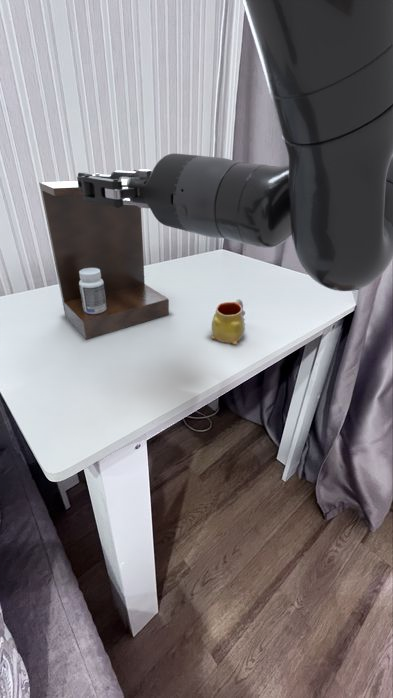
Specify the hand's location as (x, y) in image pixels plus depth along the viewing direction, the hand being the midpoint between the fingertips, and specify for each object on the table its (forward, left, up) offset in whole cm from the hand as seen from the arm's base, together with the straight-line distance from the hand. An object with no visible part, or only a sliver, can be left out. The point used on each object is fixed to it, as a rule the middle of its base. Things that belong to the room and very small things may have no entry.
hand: (109, 180), depth 44 cm
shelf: (+7, +18, -30) cm, 36 cm away
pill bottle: (+1, +16, -26) cm, 31 cm away
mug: (+24, -2, -30) cm, 39 cm away
